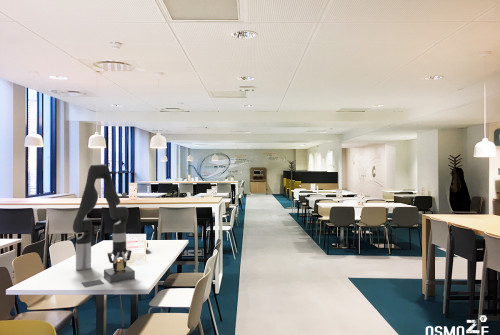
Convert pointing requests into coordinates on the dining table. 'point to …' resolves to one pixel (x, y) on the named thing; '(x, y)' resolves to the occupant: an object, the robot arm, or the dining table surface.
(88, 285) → the mat
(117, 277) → the housing
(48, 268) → the dining table surface
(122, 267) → the brass cylinder
